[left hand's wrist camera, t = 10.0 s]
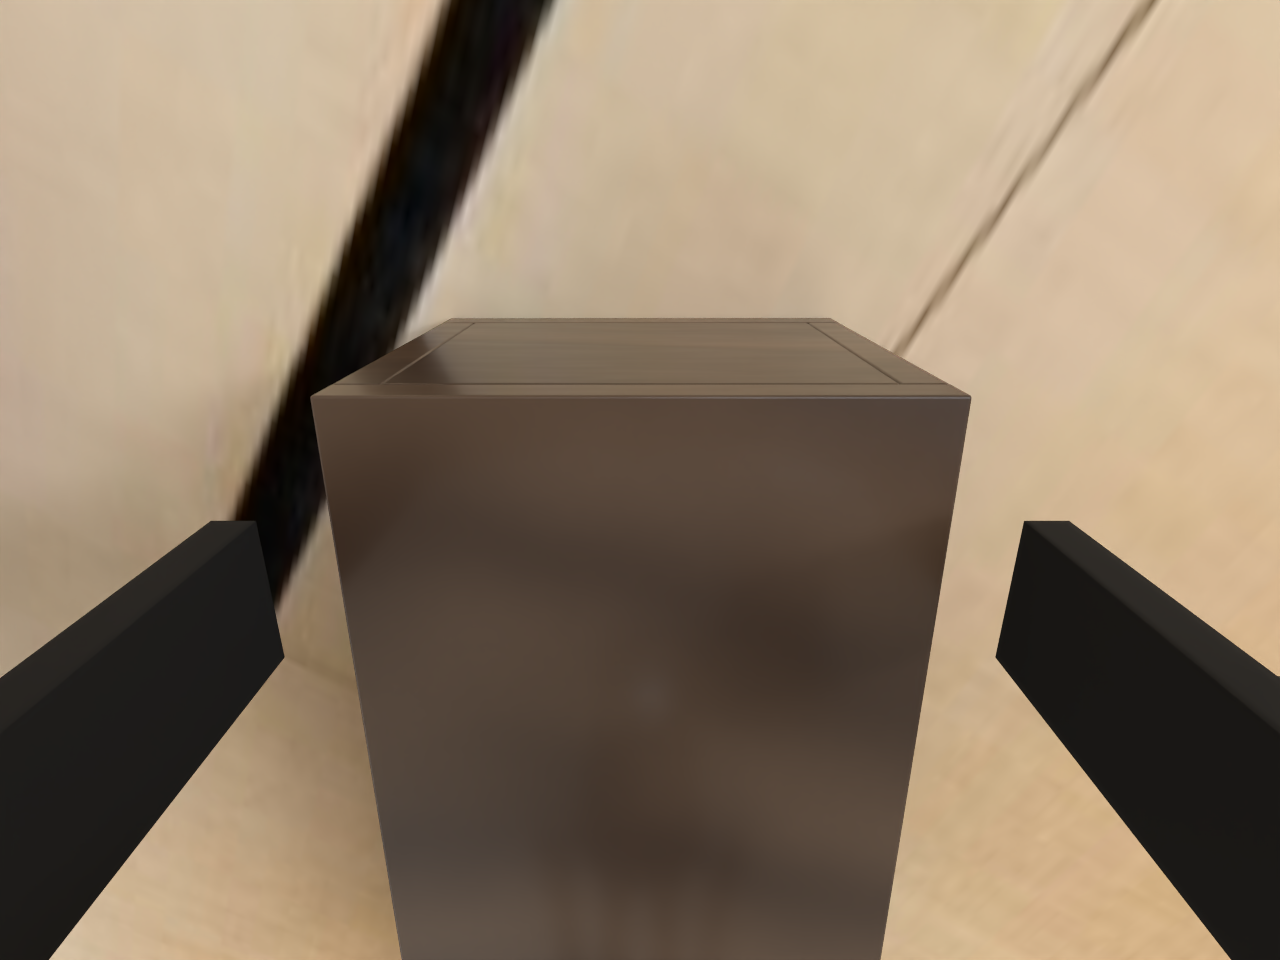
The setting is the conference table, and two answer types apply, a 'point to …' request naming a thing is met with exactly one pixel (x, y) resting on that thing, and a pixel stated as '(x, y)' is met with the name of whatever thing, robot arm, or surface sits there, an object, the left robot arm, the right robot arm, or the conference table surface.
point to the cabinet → (641, 629)
